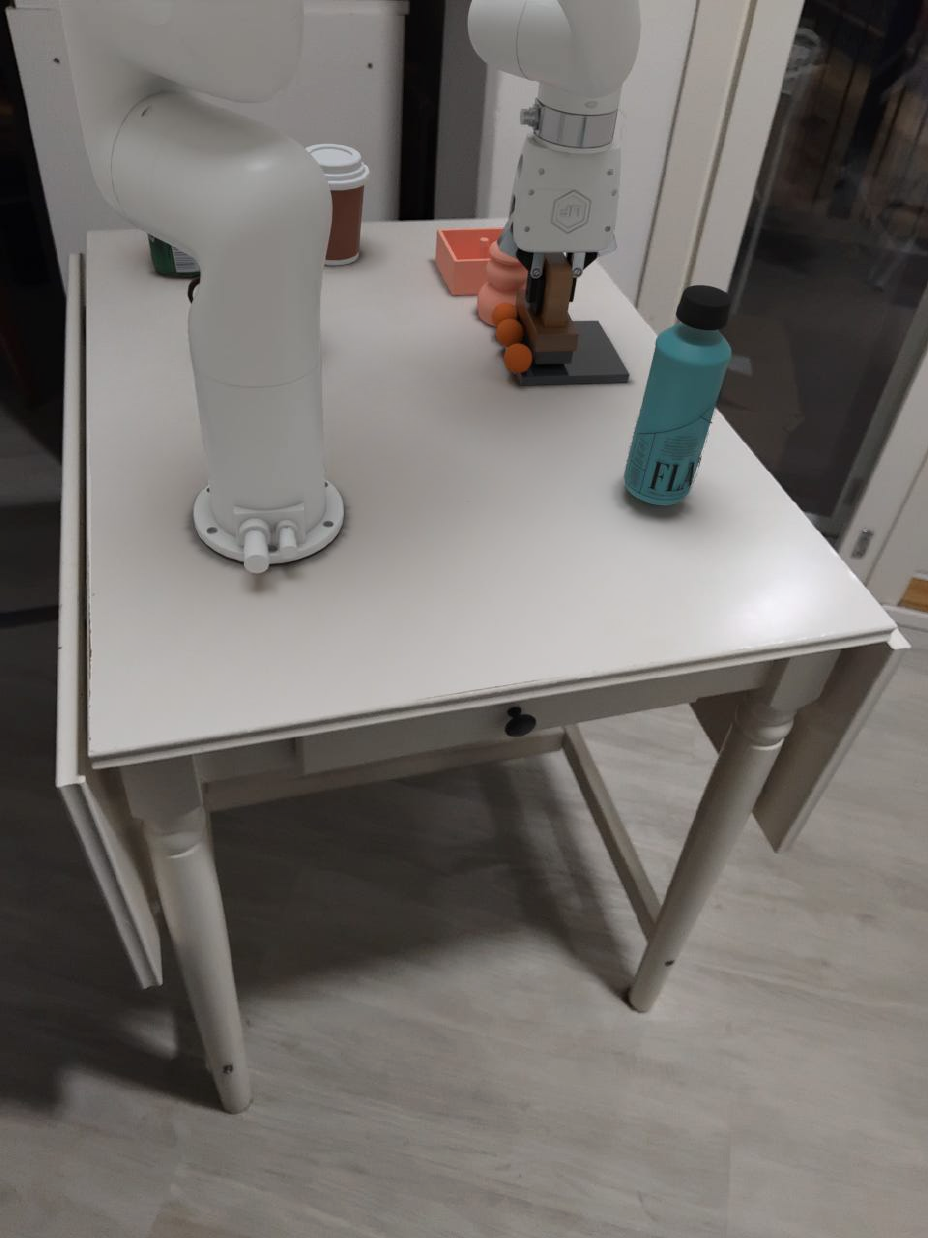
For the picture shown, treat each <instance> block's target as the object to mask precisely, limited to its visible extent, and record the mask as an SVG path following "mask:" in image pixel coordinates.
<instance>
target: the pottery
mask: <svg viewBox="0 0 928 1238" xmlns="http://www.w3.org/2000/svg"><path fill="white" fill-rule="evenodd" d="M504 227H505V226H504ZM504 227H469V228H463V227H462V228H437V229H436V238H435V239H436V240H435V241H436V243H435V254H434V255H435V256H434V258H435V259H434V263H435V265H436V267H437V269H438V271H439V273H440V275H441V277H442V279H443V281H444V282H445V284H446V286H447V288H448V290H449V292H450V294H451V296H467V295H468V296H470V295H471V296H472V295H477V297H476V306H477V314H478V317H479V320H481V321H482V322H484V323H485V324H487V325H488V326H492V327H495V326H494V324H493V322H492V312H493V310H494V308H495V307H496V306H497V305H499V304H501V303H510V304H512V305H513V306H514V307H515V308H516V306H515V304H516V296H517V289H526V283H527V275H528V271H527V269H526V268H525V267H524V266H523V265H522V264H521V263H520V262H519V260H518V259H516V258H514V257H511V256H509V255H507V254H505V253H502V252H501V251H500V250H499V248H498V246H497V244H496V242H497V239H498V238H499V236H500V234H501V232H502V230H503V228H504Z"/></svg>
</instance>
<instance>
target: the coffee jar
mask: <svg viewBox="0 0 928 1238" xmlns="http://www.w3.org/2000/svg"><path fill="white" fill-rule="evenodd" d="M146 234H147V240H148V247H149V252H150V257H151V262H152V265H153V267H154V268H155V269H156V270H157V272H159V273H161V274H167V275H172V276H175V277H181V278H182V277H195V276H196V277H197V276H198V275H201V272H200V266H199V265H198V263H197V261H196V260H195V259H194V258H193V257H191V256H189V255H187V254H186V253H184V252H182V251H180V250H179V249H177V248H176V247H174V246H172V245H170V244H168V243H166V242H164V241H162V240H160V239H158V238H156V237H154V236H152V235H150V234H148V233H146Z"/></svg>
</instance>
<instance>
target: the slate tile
mask: <svg viewBox="0 0 928 1238" xmlns="http://www.w3.org/2000/svg"><path fill="white" fill-rule="evenodd" d="M572 321H573V323H574V325H575V327H576V329H577V331H578V333H579V338H578V344H577V350H576V351H573V356H572V362H571V364H535V363H534V360H533V358H532V363H531V365H530V367H529V368H528V369H527V370H526V371H524V372H522V373H515V375H516V378H517V379H518V382H519V384H520V386H544V385H545V386H546V385H548V386H549V385H550V386H551V385H580V384H582V385H585V384H617V383H621V384H622V383H628V382H629V380H630V376H631V375H630V373H629V371H628V369H627V367H626V365H625V364H624V363H623V361H622V359H621V357H620V355H619V353H618V352H617V350H616V348H615V346H614V344H613V343H612V342H611V340H610V338H609V336H608V335H607V333H606V331H605V329H604V328H603V326H602V324H601V322H600V321H599V320H572ZM519 344H523V345H525V346H527V344H526V342H525V339H524V337H523V338H522V340H521V342H520V343H519ZM527 347H528V346H527ZM507 348H508V347H504V349H505V351H506V350H507Z"/></svg>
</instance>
